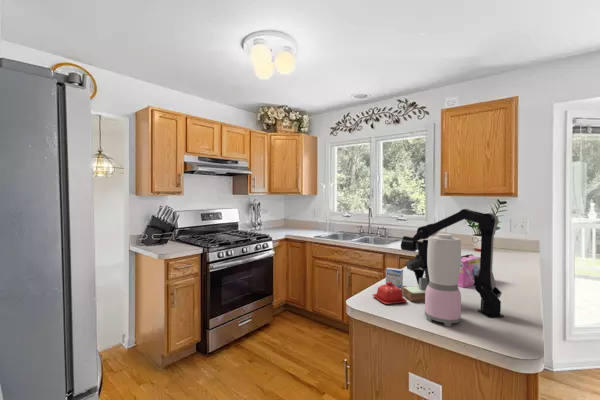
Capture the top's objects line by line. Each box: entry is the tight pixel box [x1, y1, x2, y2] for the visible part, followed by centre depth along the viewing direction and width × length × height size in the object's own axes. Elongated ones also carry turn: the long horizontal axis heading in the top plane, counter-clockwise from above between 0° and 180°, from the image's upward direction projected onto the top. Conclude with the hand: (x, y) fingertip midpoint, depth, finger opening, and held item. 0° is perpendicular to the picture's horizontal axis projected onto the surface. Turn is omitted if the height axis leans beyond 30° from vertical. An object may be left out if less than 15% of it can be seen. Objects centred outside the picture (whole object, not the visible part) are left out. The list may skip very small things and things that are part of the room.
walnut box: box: [400, 285, 425, 303], centre depth 132 cm, size 10×14×4 cm
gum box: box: [457, 254, 481, 289], centre depth 157 cm, size 24×8×14 cm, turn 124°
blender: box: [424, 233, 462, 328], centre depth 110 cm, size 16×12×32 cm
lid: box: [403, 277, 428, 293], centre depth 132 cm, size 8×12×6 cm, turn 98°
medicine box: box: [385, 267, 404, 289], centre depth 150 cm, size 8×4×9 cm, turn 62°
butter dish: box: [372, 281, 408, 305], centre depth 129 cm, size 12×12×8 cm
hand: (424, 287), depth 132 cm, fingers open, 8 cm apart
